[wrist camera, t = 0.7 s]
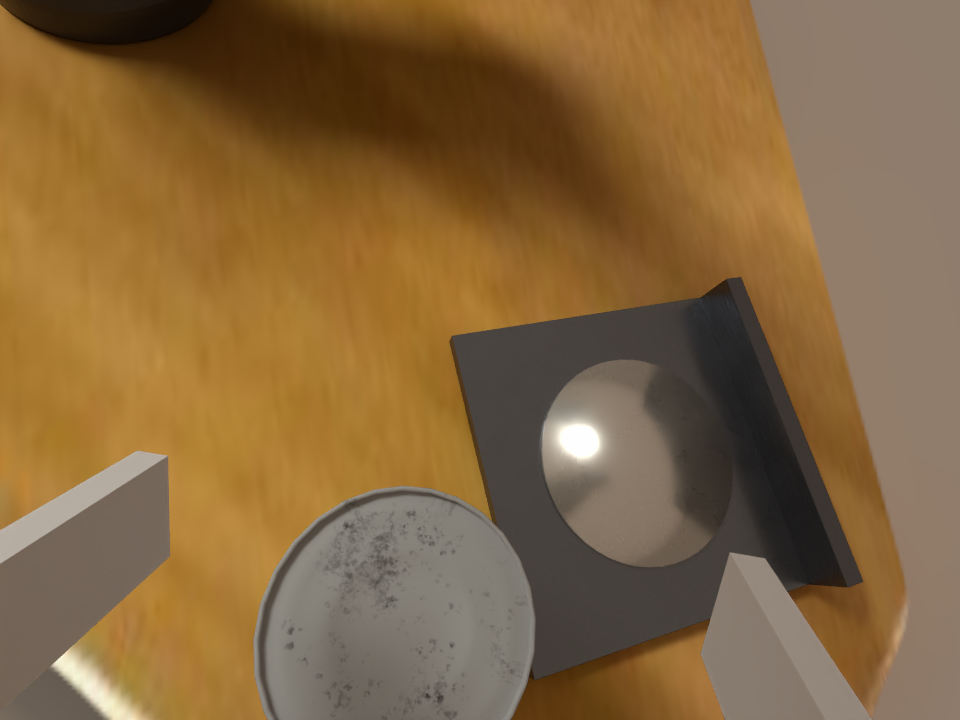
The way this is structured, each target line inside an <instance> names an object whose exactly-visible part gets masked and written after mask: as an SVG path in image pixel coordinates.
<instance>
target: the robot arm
mask: <svg viewBox="0 0 960 720" xmlns="http://www.w3.org/2000/svg"><path fill="white" fill-rule="evenodd" d="M211 1H212V0H0V4H1V5H3V6H4V7H5V8H6V9H7V10H9V11H10V12H11V13H12V14H14V15H15V16H17V17H18V18H20V19H22V20H23V21H25V22H27V23H29V24H31V25H33V26H35V27H37V28H39V29H42V30H44V31H47V32H49V33H52V34H55V35H59V36H62V37H66V38H70V39H75V40H80V41H87V42H96V43H127V42H136V41H142V40H147V39H151V38H155V37H159V36H162V35H165V34H168V33H170V32H173V31H175V30H177V29H179V28H181V27H183V26H185V25H186V24H188V23H190V22H191V21H193V20H194V19H195V18H196V17H198V16H199V15H200V14H201V13H202V12H203V11H204V10H205V9H206V8H207V7H208V5H209V4H210V3H211ZM169 557H170V532H169V484H168V456H166V455H160V454H154V453H148V452H142V451H136V452H134V453H132V454H131V455H129V456H127V457H126V458H124V459H122V460H120V461H119V462H117V463H115V464H114V465H112V466H110V467H108V468H107V469H105V470H103V471H101V472H100V473H98V474H96V475H95V476H93V477H91V478H89V479H88V480H86V481H84V482H83V483H81V484H79V485H77V486H76V487H74V488H72V489H71V490H69V491H67V492H65V493H64V494H62V495H60V496H58V497H57V498H55V499H53V500H52V501H50V502H48V503H46V504H45V505H43V506H41V507H40V508H38V509H36V510H34V511H33V512H31V513H29V514H27V515H26V516H24V517H22V518H21V519H19V520H17V521H15V522H14V523H12V524H10V525H9V526H7V527H5V528H3V529H2V530H0V712H1V711H2V710H3V709H4V708H5V707H6V706H7V705H8V704H9V703H11V702H12V701H13V700H14V699H15V698H16V697H17V696H18V695H19V694H20V693H21V692H23V691H24V690H25V689H26V688H27V687H28V686H29V685H30V684H31V683H32V682H33V681H35V680H36V679H37V678H38V677H39V676H40V675H41V674H42V673H43V672H44V671H45V670H47V669H48V668H49V667H50V666H51V665H52V664H53V663H54V662H55V661H56V660H57V659H59V658H60V657H61V656H62V655H63V654H64V653H65V652H66V651H67V650H68V649H69V648H71V647H72V646H73V645H74V644H75V643H76V642H77V641H78V640H79V639H80V638H81V637H83V636H84V635H85V634H86V633H87V632H88V631H89V630H90V629H91V628H92V627H93V626H94V625H96V624H97V623H98V622H99V621H100V620H101V619H102V618H103V617H104V616H105V615H106V614H108V613H109V612H110V611H111V610H112V609H113V608H114V607H115V606H116V605H117V604H118V603H120V602H121V601H122V600H123V599H124V598H125V597H126V596H127V595H128V594H129V593H130V592H132V591H133V590H134V589H135V588H136V587H137V586H138V585H139V584H140V583H141V582H142V581H143V580H145V579H146V578H147V577H148V576H149V575H150V574H151V573H152V572H153V571H154V570H155V569H157V568H158V567H159V566H160V565H161V564H162V563H163V562H164V561H165V560H166V559H167V558H169ZM701 656H702V659H703V662H704V664H705V667H706V670H707V672H708V675H709V678H710V681H711V683H712V686H713V689H714V691H715V694H716V697H717V699H718V702H719V705H720V707H721V710H722V713H723V716H724V718H725V720H872V719H871V717H870V716H869V714H868V713H867V711H866V709H865V708H864V706H863V705H862V703H861V702H860V700H859V699H858V697H857V696H856V694H855V693H854V691H853V690H852V688H851V687H850V685H849V684H848V682H847V681H846V679H845V678H844V676H843V675H842V673H841V672H840V670H839V669H838V667H837V666H836V664H835V663H834V661H833V660H832V658H831V657H830V655H829V654H828V652H827V651H826V649H825V648H824V646H823V645H822V643H821V642H820V640H819V639H818V637H817V636H816V634H815V633H814V631H813V630H812V628H811V627H810V625H809V624H808V622H807V621H806V619H805V618H804V616H803V615H802V613H801V612H800V610H799V609H798V607H797V606H796V604H795V603H794V601H793V600H792V598H791V597H790V595H789V594H788V592H787V591H786V589H785V588H784V586H783V585H782V583H781V582H780V580H779V579H778V577H777V576H776V574H775V573H774V571H773V570H772V568H771V567H770V565H769V564H768V562H767V561H766V559H765V558H760V557H754V556H748V555H742V554H737V553H731V552H730V553H729V557H728V560H727V564H726V567H725V571H724V574H723V578H722V581H721V585H720V588H719V592H718V595H717V598H716V602H715V605H714V609H713V612H712V616H711V619H710V623H709V626H708V630H707V633H706V637H705V640H704V644H703V647H702V651H701Z"/></svg>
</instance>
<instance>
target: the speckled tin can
mask: <svg viewBox="0 0 960 720" xmlns="http://www.w3.org/2000/svg"><path fill="white" fill-rule="evenodd" d="M535 624H536V617H535V611H534V605H533V599H532V593H531V587H530V584H529V582H528V579H527V576H526V574H525V571H524V569H523V566H522V563H521V561H520V558H519V557H518V555H517V553H516V552H515V550H514V549H513V547H512V546H511V544H510V543H509V541H508V540H507V538H506V536H505V535H504V533H503V532H502V531H501V530H500V529H499V528H498V527H497V526H496V525H495V524H494V523H493V522H492V521H491V520H490V519H489V518H488V517H487V516H486V515H485V514H484V513H482V512H481V511H479V510H478V509H476V508H474V507H473V506H471V505H469V504H468V503H466V502H465V501H463V500H461V499H460V498H458V497H455V496H452V495H449V494H446V493H443V492H440V491H437V490H434V489H430V488H419V487H409V486H399V487H391V488H384V489H376V490H372V491H369V492H366V493H364V494H361V495H358V496H356V497H353V498H350V499H348V500H345V501H343V502H342V503H340V504H339V505H337V506H335V507H334V508H332V509H331V510H329V511H328V512H326V513H324V514H323V515H321V516H320V517H318V518H317V519H316V520H315V521H314V522H313V523H312V524H311V525H310V526H309V527H308V528H307V529H306V530H305V531H304V532H303V533H302V534H301V535H300V536H299V537H298V538H297V539H296V540H295V541H294V542H293V543H292V544H291V546H290V547H289V549H288V550H287V552H286V553H285V555H284V556H283V558H282V559H281V561H280V562H279V564H278V565H277V567H276V568H275V570H274V572H273V574H272V577H271V579H270V581H269V584H268V586H267V589H266V591H265V594H264V596H263V599H262V601H261V603H260V608H259V614H258V619H257V624H256V630H255V635H254V671H255V680H256V684H257V688H258V692H259V695H260V699H261V703H262V707H263V711H264V713H265V715H266V717H267V719H268V720H511V719H512V717H513V715H514V713H515V711H516V708H517V706H518V704H519V702H520V699H521V697H522V695H523V693H524V690H525V688H526V686H527V683H528V678H529V674H530V670H531V665H532V661H533V656H534V652H535Z"/></svg>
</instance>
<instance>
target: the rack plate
mask: <svg viewBox="0 0 960 720" xmlns="http://www.w3.org/2000/svg"><path fill="white" fill-rule="evenodd" d="M449 342H450V346H451V350H452V354H453V358H454V363H455V367H456V371H457V375H458V379H459V384H460V388H461V392H462V396H463V400H464V405H465V409H466V413H467V417H468V421H469V426H470V430H471V434H472V438H473V442H474V447H475V451H476V455H477V459H478V463H479V468H480V472H481V476H482V480H483V484H484V489H485V493H486V497H487V501H488V505H489V510H490V514H491V518H492V522H493V523H494V524H495V525H496V526H497V527H498V528H499V529H500V530H501V531H502V532H503V533H504V535H505V536H506V538H507V540H508V541H509V543H510V544H511V546H512V547H513V549H514V550H515V552H516V553H517V555H518V557H519V558H520V561H521V563H522V566H523V569H524V571H525V574H526V576H527V579H528V582H529V584H530V587H531V593H532V599H533V605H534V611H535V617H536V624H535V652H534V656H533V661H532V665H531V670H530V674H529V676H530V677H531V678H533V679H534V680H537V679H540V678H542V677H545V676H548V675H551V674H554V673H557V672H559V671H562V670H565V669H568V668H571V667H574V666H577V665H579V664H582V663H585V662H588V661H591V660H594V659H597V658H599V657H602V656H605V655H608V654H611V653H614V652H616V651H619V650H622V649H625V648H628V647H631V646H634V645H636V644H639V643H642V642H645V641H648V640H651V639H654V638H656V637H659V636H662V635H665V634H668V633H671V632H673V631H676V630H679V629H682V628H685V627H688V626H691V625H693V624H696V623H699V622H702V621H705V620H708V619H711V616H712V612H713V609H714V605H715V602H716V598H717V595H718V592H719V588H720V585H721V581H722V578H723V574H724V571H725V567H726V564H727V560H728V557H729V553H730V552H731V553H737V554H742V555H748V556H754V557H760V558H765V559H766V561H767V562H768V564H769V565H770V567H771V568H772V570H773V571H774V573H775V574H776V576H777V577H778V579H779V580H780V582H781V583H782V585H783V586H784V588H785V589H786V591H787V592H788V591H790V590H793V589H796V588H799V587H802V586H805V585H807V584H811V585H823V586H836V587H851V586H853V585H856V584H859V583H862V582H863V580H862V577H861V575H860V572H859V570H858V567H857V565H856V562H855V560H854V557H853V555H852V552H851V550H850V547H849V545H848V542H847V540H846V537H845V535H844V532H843V530H842V527H841V525H840V522H839V520H838V518H837V515H836V513H835V510H834V508H833V505H832V503H831V500H830V498H829V495H828V493H827V490H826V488H825V485H824V483H823V480H822V478H821V475H820V473H819V470H818V468H817V465H816V463H815V460H814V458H813V455H812V453H811V450H810V448H809V445H808V443H807V440H806V438H805V435H804V433H803V430H802V428H801V425H800V423H799V420H798V418H797V415H796V413H795V411H794V408H793V406H792V403H791V401H790V398H789V396H788V393H787V391H786V388H785V386H784V383H783V381H782V378H781V376H780V373H779V371H778V368H777V366H776V363H775V361H774V358H773V356H772V353H771V351H770V348H769V346H768V343H767V341H766V338H765V336H764V333H763V331H762V328H761V326H760V323H759V321H758V318H757V316H756V313H755V311H754V308H753V306H752V304H751V301H750V299H749V296H748V294H747V291H746V289H745V286H744V284H743V281H742V279H741V277H738V278H731V279H726V280H724V281H723V282H722V283H720V284H719V285H717V286H716V287H715V288H713V289H712V290H710V291H709V292H708V293H706V294H705V295H703V296H702V297H701V298H695V299H688V300H682V301H675V302H669V303H662V304H656V305H649V306H643V307H636V308H630V309H623V310H617V311H611V312H604V313H598V314H591V315H585V316H578V317H572V318H565V319H559V320H552V321H546V322H539V323H533V324H526V325H520V326H513V327H507V328H500V329H494V330H487V331H481V332H474V333H468V334H461V335H455V336H452V337H451V339H450V341H449Z"/></svg>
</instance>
